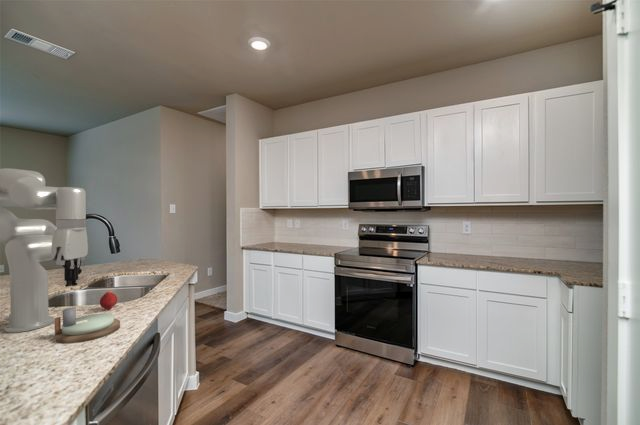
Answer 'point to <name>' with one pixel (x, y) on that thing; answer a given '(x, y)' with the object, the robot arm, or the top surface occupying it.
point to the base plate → (83, 337)
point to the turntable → (84, 322)
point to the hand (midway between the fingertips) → (71, 280)
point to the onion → (108, 300)
